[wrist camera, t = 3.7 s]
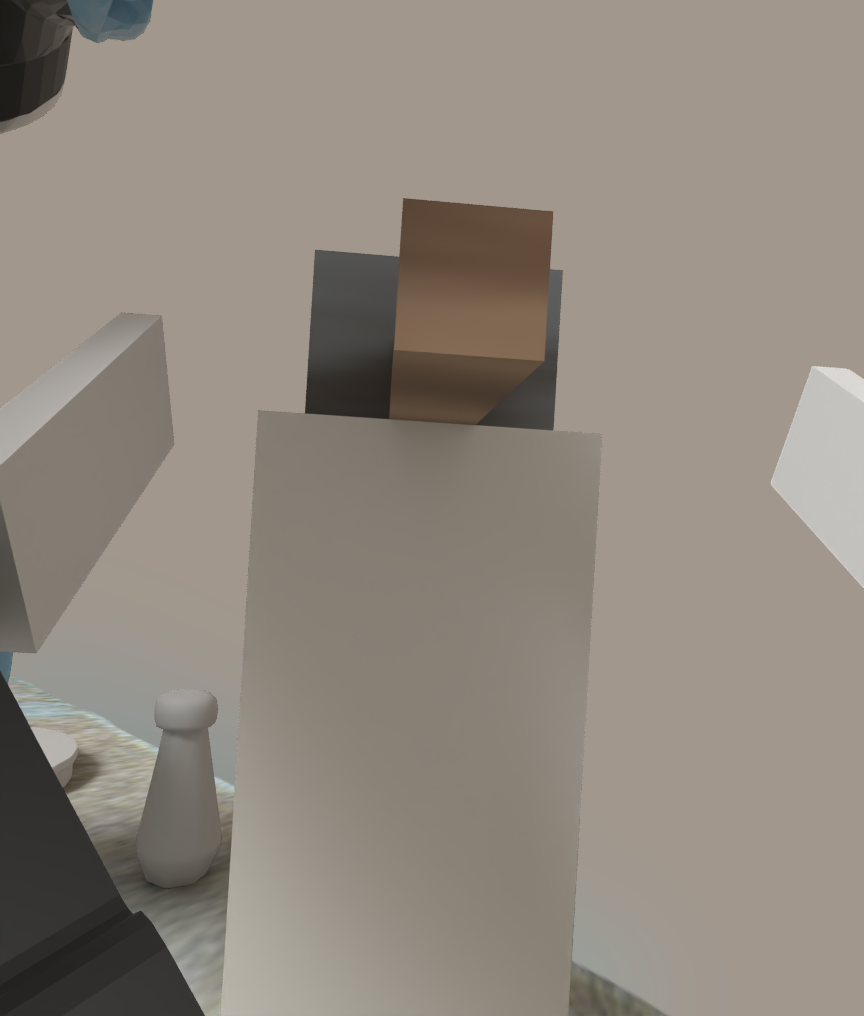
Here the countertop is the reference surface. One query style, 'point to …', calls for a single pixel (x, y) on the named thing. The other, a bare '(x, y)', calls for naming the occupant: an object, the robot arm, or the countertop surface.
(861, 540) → the robot arm
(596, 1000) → the countertop surface
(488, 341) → the panel with wooden post
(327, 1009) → the pedestal
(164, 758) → the salt shaker
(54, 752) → the lid
